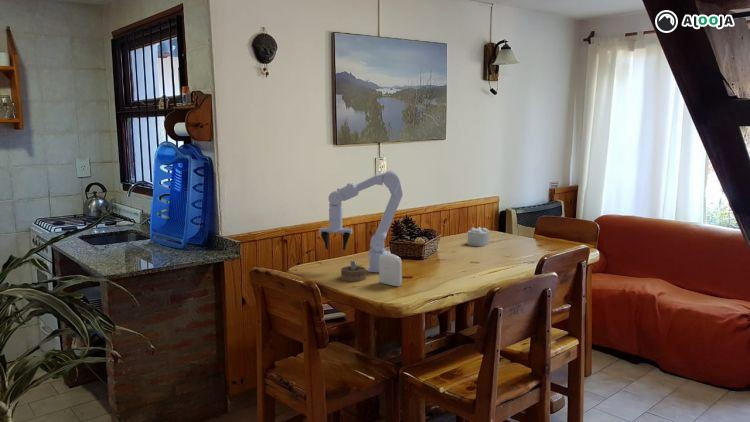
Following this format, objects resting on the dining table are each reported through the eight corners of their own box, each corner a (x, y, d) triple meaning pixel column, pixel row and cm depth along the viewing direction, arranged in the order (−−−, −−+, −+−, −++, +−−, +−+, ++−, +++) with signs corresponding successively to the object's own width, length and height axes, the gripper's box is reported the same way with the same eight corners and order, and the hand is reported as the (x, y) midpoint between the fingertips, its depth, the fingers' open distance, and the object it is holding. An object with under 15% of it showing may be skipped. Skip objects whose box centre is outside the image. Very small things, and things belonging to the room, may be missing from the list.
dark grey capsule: (356, 277, 245) (356, 261, 244) (356, 279, 243) (356, 262, 242) (351, 277, 245) (350, 261, 244) (350, 278, 243) (350, 262, 242)
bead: (367, 275, 248) (367, 266, 247) (362, 281, 238) (362, 272, 237) (344, 274, 250) (344, 265, 249) (339, 280, 240) (338, 271, 239)
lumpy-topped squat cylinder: (465, 244, 313) (465, 228, 311) (475, 240, 323) (475, 225, 322) (483, 247, 307) (483, 230, 306) (492, 243, 318) (493, 227, 316)
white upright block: (377, 282, 237) (377, 253, 235) (384, 280, 240) (384, 251, 238) (396, 287, 230) (396, 256, 228) (403, 285, 233) (403, 255, 231)
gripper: (317, 219, 251) (317, 250, 253) (349, 220, 249) (350, 251, 251) (321, 217, 258) (321, 247, 260) (353, 218, 256) (353, 248, 258)
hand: (335, 249), depth 256 cm, fingers open, 7 cm apart
